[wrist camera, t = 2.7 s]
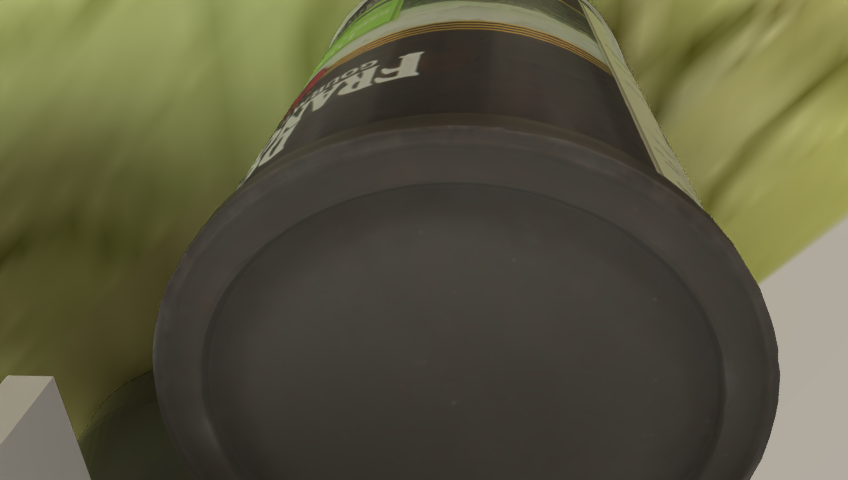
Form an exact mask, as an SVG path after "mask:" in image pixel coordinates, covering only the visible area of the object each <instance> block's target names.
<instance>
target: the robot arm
mask: <svg viewBox="0 0 848 480" xmlns="http://www.w3.org/2000/svg"><path fill="white" fill-rule="evenodd" d="M0 480H195V479H194V477H193V476H192V475H191V473H190V472H189V470H188V468H187V467H186V465H185V463H184V461H183V460H182V458H181V457H180V455H179V454H178V452H177V450H176V448H175V446H174V444H173V442H172V440H171V438H170V436H169V433H168V431H167V429H166V427H165V424H164V422H163V420H162V417H161V412H160V408H159V404H158V400H157V393H156V387H155V380H154V374H153V371H151V372H148V373H146V374H143V375H141V376H139V377H137V378H135V379H133V380H131V381H130V382H128V383H127V384H125V385H123V386H122V387H121V388H119V389H118V390H117V391H115V392H114V393H113V394H112V395H111V396H110V397H109V398H108V399H107V400H106V401H105V402H104V403H103V404H102V405H101V407H100V408H99V409H98V411H97V412H96V413H95V415H94V417H93V418H92V420H91V421H90V423H89V424H88V426H87V427H86V429H85V430H84V432H83V434H82V435H81V437H80V438H79V440H78V441H77V440H76V437H75V434H74V431H73V429H72V426H71V423H70V420H69V418H68V415H67V412H66V409H65V407H64V404H63V401H62V398H61V395H60V393H59V390H58V387H57V384H56V382H55V379H54V376H14V375H8V376H7V377H6V378H5V379H4V380H3V381H2V383H1V384H0Z"/></svg>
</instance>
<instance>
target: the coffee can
mask: <svg viewBox="0 0 848 480" xmlns="http://www.w3.org/2000/svg"><path fill="white" fill-rule="evenodd" d="M152 361H153V374H154V380H155V387H156V393H157V400H158V404H159V408H160V412H161V417H162V420H163V422H164V424H165V427H166V429H167V431H168V433H169V436H170V438H171V440H172V442H173V444H174V446H175V448H176V450H177V452H178V454H179V455H180V457H181V458H182V460H183V461H184V463H185V465H186V467H187V468H188V470H189V472H190V473H191V475H192V476H193V477H194V479H195V480H750V478H751V477H752V475H753V473H754V471H755V470H756V468H757V466H758V464H759V463H760V461H761V459H762V456H763V454H764V451H765V448H766V445H767V443H768V440H769V437H770V434H771V430H772V426H773V422H774V419H775V415H776V409H777V405H778V395H779V394H778V393H779V382H780V370H779V363H778V346H777V341H776V337H775V332H774V328H773V324H772V321H771V318H770V315H769V312H768V310H767V307H766V304H765V302H764V299H763V296H762V293H761V290H760V288H759V286H758V285H757V283H756V281H755V280H754V278H753V276H752V275H751V273H750V271H749V270H748V268H747V266H746V265H745V263H744V261H743V260H742V258H741V256H740V255H739V253H738V251H737V250H736V248H735V246H734V245H733V243H732V242H731V241H730V240H729V238H728V237H727V236H726V235H725V234H724V233H723V231H722V230H721V229H720V228H719V226H718V225H717V224H716V223H715V221H714V220H713V219H712V218H711V217H710V215H709V214H707V213H706V212H705V211H704V209H703V207H702V205H701V203H700V202H699V200H698V198H697V196H696V194H695V192H694V190H693V188H692V186H691V184H690V182H689V181H688V179H687V177H686V175H685V172H684V170H683V168H682V166H681V164H680V163H679V161H678V159H677V158H676V156H675V154H674V152H673V151H672V149H671V147H670V146H669V144H668V142H667V140H666V138H665V136H664V134H663V133H662V131H661V129H660V127H659V125H658V123H657V122H656V120H655V118H654V116H653V114H652V112H651V111H650V109H649V107H648V105H647V103H646V101H645V99H644V97H643V95H642V93H641V91H640V89H639V87H638V85H637V83H636V82H635V80H634V77H633V75H632V74H631V72H630V70H629V69H628V67H627V65H626V63H625V60H624V57H623V55H622V52H621V50H620V48H619V45H618V43H617V41H616V39H615V37H614V35H613V34H612V32H611V30H610V29H609V27H608V25H607V24H606V22H605V21H604V19H603V18H602V16H601V15H600V14H599V13H598V12H597V10H596V9H595V8H594V7H593V6H592V5H591V4H590V3H589V2H588V1H587V0H362V1H361V2H360V3H359V4H358V5H357V6H356V7H355V8H354V9H353V10H352V11H351V12H350V13H349V14H348V15H347V17H346V18H345V20H344V21H343V23H342V25H341V26H340V27H339V29H338V30H337V32H336V34H335V36H334V37H333V39H332V42H331V44H330V46H329V48H328V51H327V53H326V54H325V56H324V57H323V58H322V60H321V62H320V63H319V65H318V66H317V68H316V69H315V71H314V72H313V74H312V76H311V77H310V79H309V80H308V82H307V84H306V85H305V87H304V88H303V90H302V92H301V93H300V94H299V96H298V97H297V99H296V100H295V102H294V103H293V105H292V106H291V108H290V109H289V111H288V112H287V114H286V115H285V117H284V118H283V120H282V121H281V123H280V124H279V126H278V128H277V129H276V131H275V132H274V134H273V135H272V137H271V138H270V140H269V141H268V143H267V144H266V146H265V147H264V148H263V150H262V151H261V152H260V154H259V156H258V157H257V159H256V161H255V162H254V164H253V165H252V167H251V168H250V170H249V171H248V173H247V175H246V176H245V178H244V179H243V180H242V181H241V182H240V184H239V186H238V188H237V190H236V191H235V192H234V193H233V194H232V195H231V196H230V197H229V198H228V199H227V200H226V201H225V202H224V203H223V204H222V205H221V206H220V207H219V208H218V209H217V210H216V211H215V213H214V214H213V215H212V216H211V218H210V219H209V220H208V221H207V222H206V224H205V225H204V226H203V227H202V229H201V230H200V231H199V233H198V234H197V236H196V237H195V238H194V240H193V241H192V243H191V244H190V246H189V247H188V249H187V250H186V251H185V253H184V254H183V256H182V257H181V259H180V261H179V263H178V265H177V267H176V269H175V271H174V273H173V274H172V276H171V278H170V280H169V281H168V283H167V285H166V288H165V291H164V295H163V298H162V301H161V304H160V307H159V312H158V317H157V321H156V326H155V333H154V341H153V357H152Z"/></svg>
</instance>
